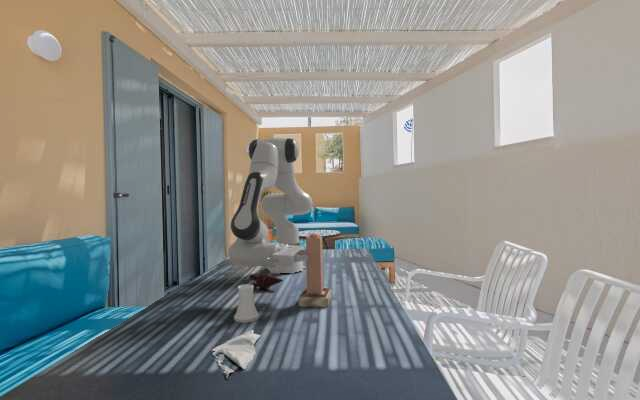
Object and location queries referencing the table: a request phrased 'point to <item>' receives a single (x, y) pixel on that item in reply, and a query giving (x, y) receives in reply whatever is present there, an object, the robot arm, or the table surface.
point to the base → (315, 298)
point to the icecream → (264, 280)
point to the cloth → (238, 350)
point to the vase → (246, 305)
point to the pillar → (314, 264)
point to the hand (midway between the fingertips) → (311, 255)
